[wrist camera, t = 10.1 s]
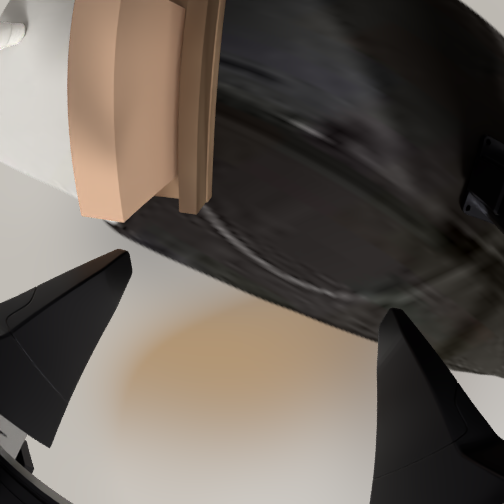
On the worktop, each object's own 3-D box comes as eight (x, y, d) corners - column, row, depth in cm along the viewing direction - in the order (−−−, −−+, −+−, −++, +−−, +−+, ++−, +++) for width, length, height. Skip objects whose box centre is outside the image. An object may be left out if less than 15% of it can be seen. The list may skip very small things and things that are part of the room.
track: (227, -11, 11) (213, -26, 9) (211, 196, 20) (198, 214, 18) (127, 4, 12) (103, -2, 9) (125, 187, 21) (104, 202, 18)
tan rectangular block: (185, 9, 12) (124, -20, 6) (177, 175, 18) (123, 222, 13) (144, 15, 12) (75, -1, 6) (141, 172, 19) (81, 216, 13)
